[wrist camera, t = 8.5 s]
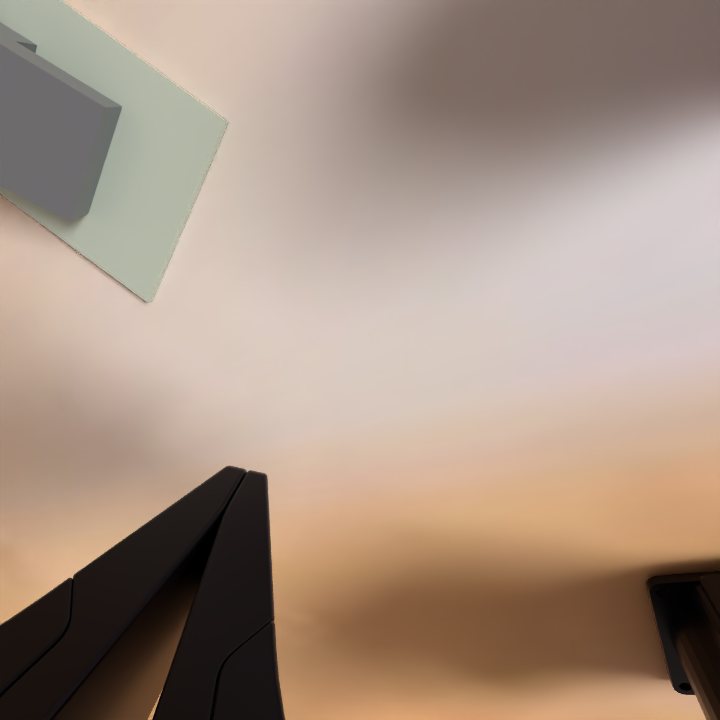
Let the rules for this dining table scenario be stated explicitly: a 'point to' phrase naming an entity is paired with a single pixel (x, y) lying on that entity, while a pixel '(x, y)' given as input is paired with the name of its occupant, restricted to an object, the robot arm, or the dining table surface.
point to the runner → (124, 147)
